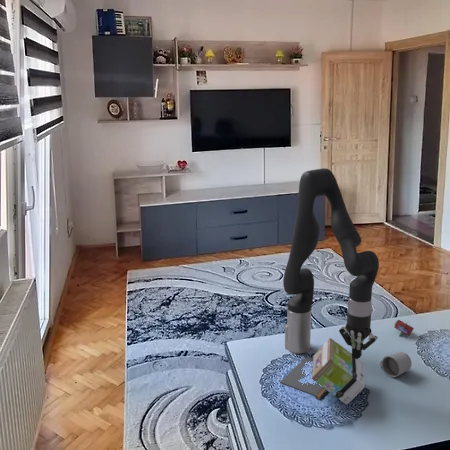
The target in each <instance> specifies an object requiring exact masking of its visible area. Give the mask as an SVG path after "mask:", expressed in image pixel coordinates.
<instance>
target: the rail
mask: <svg viewBox="0 0 450 450" xmlns="http://www.w3.org/2000/svg"><path fill="white" fill-rule="evenodd" d="M325 392H326V393H327V391H326V389H325V388H322V389H321V390H320V391H319V392H318V393H317V394H316V395H315V396H314V397H315V399H317V400H320V399H322V397H323V396H324V395H325V394H326V393H325ZM324 393H325V394H324Z"/></svg>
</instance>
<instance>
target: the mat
mask: <svg viewBox="0 0 450 450" xmlns="http://www.w3.org/2000/svg"><path fill="white" fill-rule="evenodd" d="M306 361H307V363H308V362H309V361H310V362H311V361H313V358H310V357H308V356H306V357H304V359H302V361H300V362H299V363H298V364H297V365H296V366H295V367H294V368H293V369H292V370H291V371H290V372H288V373H287V375H285V376H284V377H283V378H282V380H279V383H280V384H282V385H285V386H288V387H290V388H293V389H296V390H298V391H301V392H304V393H306V394H309V395H311V396H313V397H315V395H316V394H317V393H318V392H319V391H320V390H321V389H322V388H323V387H321V386H320V385H319V384H318V383H317V384H316V383H315V385H313V384H314V383H313V384H310V383H308V385H307V383H306V384H305V383H304V384H303V383H301V382H299V381H298V380H300V379H302V378H301V377H303V376H304V377H305V375H306V374H305V373H304V372H305V370H304V372H303V374H302V371H303V369H302V368H303V366H305V363H306ZM301 369H302V370H301ZM304 374H305V375H304ZM302 384H303V385H302Z"/></svg>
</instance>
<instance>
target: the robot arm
mask: <svg viewBox="0 0 450 450" xmlns="http://www.w3.org/2000/svg"><path fill="white" fill-rule="evenodd" d="M297 196H298V197H297V198H298V200H297V208H296V209H297V211H296V217H295V223H294V227H293V234H292V240H291V246H290V251H289V257H288V260H287V263H286V266H285V269H284V275H283V278H282V279H283V281H282V282H283V289H284V291H285V293H286V294H288V295H292V296H293V297H291V298H289V300H288V301H287V307H286V308H287V313H286V316H287V317H286V318H287V319H286V320H287V322H286V323H287V324H286V325H285V326H284V331H285V332H284V348H285V349H287V351H290V353H293V354H306V353H307V352H309V351H311V329H312V322H311V321H312V306H313V301H314V290H315V278H314V274H313V272H312V270H310V268H303V265H304V264H305V262H306V261H307V260H308V259H309V257H310V256H311V255H312V253H314V251H315V249H316V248H317V245H318V242H319V237H320V232H321V227H320V224H319V221H318V219H317V217H316V216H315V213H314V205H315V204H314V203H315V201H316V198H317V197H323V196H325V197H326V198H327V201H328V202H329V206H330V209H331V212H330V226H331V231H332V232H333V234H334V236H335V239H336V240H337V243H338V245H339V246H340V250H341V254H342V258H343V259H342V260H343V264H344V267H345V269H346V270H347V272H348V273H349V274H350V275H352V276H354V277H355V278H353V279H352V280H351V282H350V283H349V290H348V300H347V301H348V302H347V310H346V311H347V312H346V314H347V315H346V316H347V317H346V324H345V326H342V327H341V328H340V329H339V330H338V332H339V334H340V335H341V337H342V338H343V340H344V342H345V344H346V345H348V346H350V347H351V353H352V356H353V358H355V359H360V358H361V357H362V353H363V352H362V351H365V350H367V348H369V347H370V346H372V345H373V344H374V343H375V342H376V341H377V340H378V336H377V335H374V334H373V333H372V329H371V324H372V323H371V322H372V311H373V308H372V307H373V305H372V296H373V286H374V285H375V281H376V278H377V276H378V273H379V268H380V261H379V258H378V255H377V254H376V253H375V252H374V251H372V250H364V251H361V252H358V251H357V247H359V246H360V245H361V243H362V237H361V235H360V234H359V232H358V229H357V228H356V226H355V224H354V223H353V220H352V218H351V216H350V214H349V212H348V210H347V207H346V204H345V202H344V201H345V200H344V198H343V195H342V192H341V190H340V187H339V183H338V181H337V179H336V177H335V175H334V173H333V172H332V170H331V169H329V168H325V167H323V168H317V169H311V170H306V171H304V172H303V173H302V175H301V176H300V180H299V185H298V195H297ZM367 338H368V339H367ZM366 339H367V342H365V343H364V341H365V340H366Z"/></svg>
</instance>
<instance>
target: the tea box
mask: <svg viewBox="0 0 450 450" xmlns="http://www.w3.org/2000/svg"><path fill="white" fill-rule="evenodd" d="M312 359H313V369H312V379H313V380H314V381H316V382H317V383H318V384H320V385H321V386H322V387H323V388H325V389H326V390H327V391H326V392H328V393H330V394H331V395H332V396H334V397H336V399H338V400H340V402H342V403H344V404H345V405H347V406H348V404H350V403H351V402H352V401H353V400H354V399H355V398H356V397H357V396H358V395H359V394H360V392H361V391H363V389H364V388H365V387H366V385H365V383H366V382H365V372H364V362H363V360H361V359H360V358H359V359H355V358H353V356H352V352H350V351H348V349H346V348H345V347H343V346H342V345H341V344H339V343H338V342H336V341H335V340H334V339H333V338H331V337H329V338H328V340H326V341H325V342H324V344H323V345H322V346H321V347H320V348H319V349H318V350H317V351H316V353H315V354H313V357H312Z"/></svg>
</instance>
